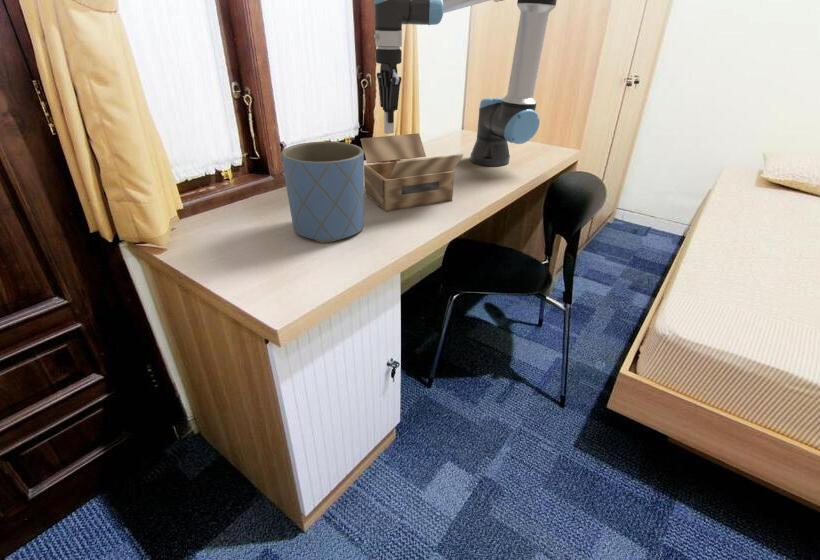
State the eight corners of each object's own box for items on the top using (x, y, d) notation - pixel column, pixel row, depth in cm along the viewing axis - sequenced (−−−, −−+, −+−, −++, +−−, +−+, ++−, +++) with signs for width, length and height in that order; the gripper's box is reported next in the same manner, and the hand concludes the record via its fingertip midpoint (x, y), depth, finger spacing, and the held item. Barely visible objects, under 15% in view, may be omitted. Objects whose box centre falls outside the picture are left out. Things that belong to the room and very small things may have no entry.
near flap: (463, 153, 119) (463, 155, 119) (451, 169, 126) (452, 171, 126) (396, 161, 111) (397, 162, 111) (388, 178, 119) (389, 179, 118)
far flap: (426, 156, 138) (425, 156, 139) (419, 133, 139) (418, 133, 140) (367, 162, 131) (367, 163, 131) (360, 138, 132) (360, 139, 132)
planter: (381, 230, 112) (380, 152, 102) (319, 252, 101) (310, 167, 90) (337, 209, 124) (332, 137, 114) (277, 227, 112) (265, 149, 102)
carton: (428, 184, 144) (430, 157, 139) (453, 200, 132) (456, 171, 127) (363, 193, 135) (362, 165, 131) (384, 212, 123) (383, 181, 118)
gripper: (367, 46, 128) (370, 129, 140) (385, 49, 118) (386, 138, 130) (391, 46, 131) (391, 128, 143) (410, 49, 121) (408, 136, 133)
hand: (388, 133), depth 136 cm, fingers closed
